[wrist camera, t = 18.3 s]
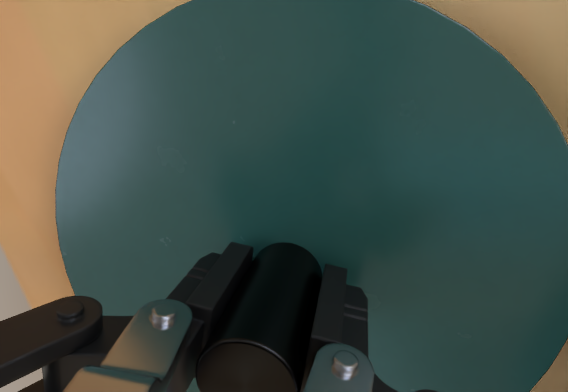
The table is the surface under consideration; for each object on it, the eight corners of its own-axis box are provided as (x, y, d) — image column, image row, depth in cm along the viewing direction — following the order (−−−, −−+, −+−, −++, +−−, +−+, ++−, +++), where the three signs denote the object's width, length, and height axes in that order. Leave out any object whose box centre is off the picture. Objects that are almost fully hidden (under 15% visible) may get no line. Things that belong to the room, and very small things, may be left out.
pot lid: (84, 376, 18) (-37, 511, 13) (62, -50, 12) (-195, -146, 6) (467, 491, 16) (521, 720, 10) (689, 33, 9) (1129, -9, 4)
